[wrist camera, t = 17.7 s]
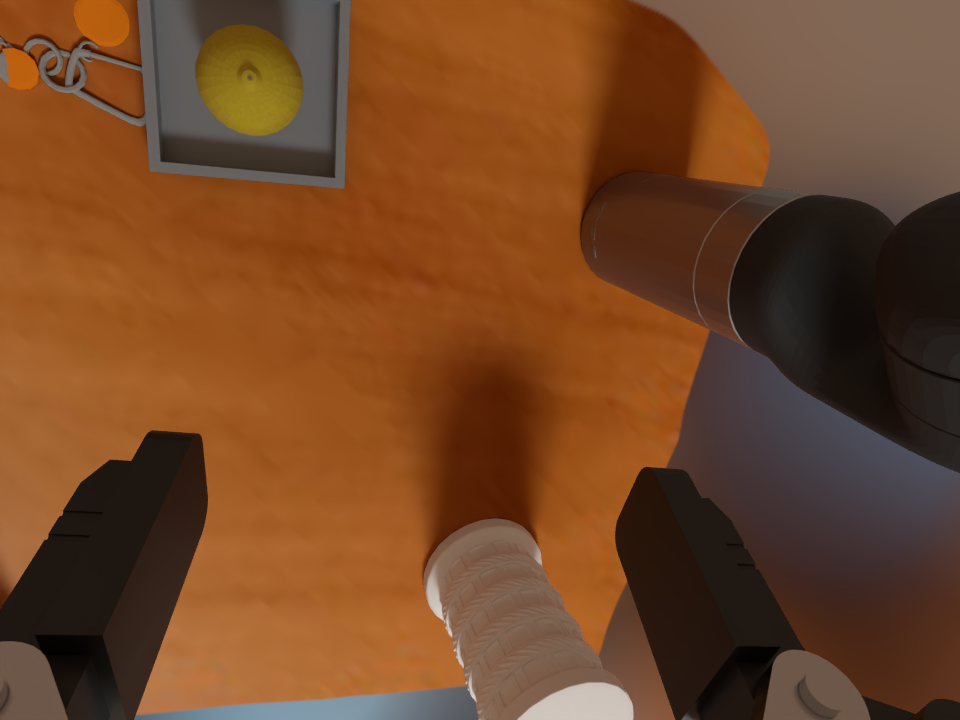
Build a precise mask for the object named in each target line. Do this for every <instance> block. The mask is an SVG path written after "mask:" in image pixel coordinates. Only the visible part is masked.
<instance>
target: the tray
mask: <svg viewBox="0 0 960 720" xmlns="http://www.w3.org/2000/svg"><path fill="white" fill-rule="evenodd" d="M137 5H138V19H139V32H140V46H141V60H142V73H143V87H144V101H145V114H146V128H147V142H148V155H149V169H150V171H151V172H162V173H173V174H185V175H196V176H207V177H219V178H230V179H241V180H252V181H264V182H275V183H286V184H298V185H309V186H320V187H331V188H343V189H344V182H345V153H346V124H347V94H348V65H349V36H350V7H351V0H137ZM238 24H245V25H251V26H257V27H259V28H261V29H264V30H266V31H269V32H270V33H272V34H273V35H274V36H276V37H277V38H278V39H280V40H281V41H282V42H283V43H284V44H285V45H286V46H287V47H288V49H289V50H290V51H291V52H292V54H293V56H294V57H295V59H296V61H297V63H298V65H299V68H300V71H301V75H302V78H303V97H302V103H301V106H300V108H299V110H298V113H297V115H296V116H295V118H294V119H293V120H292V121H291V122H290V123H289V124H288V125H287V126H286V127H284V128H283V129H281V130H280V131H278V132H276V133H272V134H269V135H264V136H251V135H247V134H242V133H239V132H237V131H234V130H232V129H230V128H228V127H226V126H225V125H224V124H223V123H221V122H220V121H219V120H218V119H216V118H215V117H214V115H213V114H212V113H211V112H210V111H209V109H208V108H207V107H206V106H205V104H204V102H203V100H202V98H201V96H200V94H199V91H198V87H197V83H196V79H195V64H196V60H197V56H198V53H199V50H200V49H201V47H202V45H203V44H204V42H205V40H206V39H207V38H208V37H210V36H211V35H212V34H213V33H214V32H215V31H217V30H219V29H222V28H224V27H226V26H229V25H238Z"/></svg>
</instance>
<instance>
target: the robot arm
mask: <svg viewBox="0 0 960 720" xmlns="http://www.w3.org/2000/svg"><path fill="white" fill-rule="evenodd" d="M581 243H582V251H583V254H584V257H585V260H586V262H587V263H588V265H589V267H590V268H591V270H592V271H593V272H594V273H595V274H596V275H597V276H598V277H600V278H602V279H603V280H605V281H607V282H609V283H611V284H613V285H615V286H617V287H620V288H622V289H624V290H626V291H628V292H630V293H632V294H634V295H636V296H638V297H641V298H643V299H645V300H647V301H649V302H651V303H653V304H656V305H658V306H660V307H662V308H664V309H666V310H669V311H671V312H673V313H675V314H677V315H679V316H682V317H684V318H686V319H688V320H690V321H692V322H694V323H697V324H699V325H701V326H703V327H705V328H707V329H710V330H712V331H714V332H716V333H719V334H721V335H723V336H725V337H727V338H730V339H732V340H734V341H736V342H738V343H740V344H742V345H744V346H747V347H749V348H751V349H753V350H755V351H757V352H759V353H761V354H763V355H765V356H767V357H768V358H769V359H770V360H771V361H772V362H773V363H774V364H775V365H776V366H777V368H778V369H779V370H780V371H781V372H782V373H783V374H784V375H785V376H786V377H787V378H788V379H789V380H790V381H791V382H792V383H793V384H795V385H796V386H797V387H799V388H800V389H802V390H803V391H805V392H806V393H808V394H810V395H811V396H813V397H815V398H816V399H818V400H820V401H822V402H824V403H825V404H827V405H829V406H831V407H832V408H834V409H836V410H838V411H839V412H841V413H843V414H845V415H846V416H848V417H850V418H852V419H854V420H855V421H857V422H859V423H861V424H862V425H864V426H866V427H868V428H869V429H871V430H873V431H875V432H876V433H878V434H880V435H882V436H884V437H886V438H887V439H889V440H891V441H893V442H894V443H896V444H898V445H901V446H902V447H904V448H906V449H907V450H909V451H912V452H913V453H916V454H918V455H920V456H922V457H924V458H926V459H928V460H930V461H932V462H934V463H936V464H939V465H941V466H944V467H946V468H948V469H951V470H953V471H956V472H959V473H960V192H957V193H954V194H950V195H947V196H945V197H942V198H939V199H937V200H935V201H932V202H930V203H928V204H926V205H924V206H922V207H920V208H918V209H917V210H915V211H913V212H912V213H911V214H909V215H908V216H907V217H905V218H904V219H903V220H901V222H899V223H898V224H897V225H896V226H895V225H894V224H893V223H892V221H891V220H890V219H889V218H888V217H887V216H886V215H884V214H883V213H882V212H881V211H880V210H878V209H876V208H875V207H873V206H871V205H869V204H867V203H864V202H861V201H857V200H853V199H848V198H841V197H833V196H826V195H819V194H811V193H804V192H796V191H789V190H781V189H771V188H763V187H756V186H748V185H741V184H733V183H726V182H718V181H710V180H703V179H695V178H688V177H680V176H674V175H666V174H658V173H649V172H641V171H635V172H627V173H625V174H622V175H619V176H617V177H615V178H614V179H612V180H610V181H609V182H607V183H606V184H605V185H604V186H603V187H602V188H601V189H600V190H599V191H598V192H597V193H596V195H595V196H594V198H593V199H592V201H591V202H590V204H589V206H588V208H587V211H586V213H585V216H584V220H583V223H582V230H581ZM207 506H208V493H207V482H206V472H205V462H204V451H203V442H202V437H201V435H200V434H195V433H182V432H168V431H154V430H152V431H150V432H148V434H147V435H146V436H145V438H144V439H143V441H142V443H141V445H140V447H139V448H138V450H137V452H136V454H135V456H134V457H133V459H132V461H123V460H109V461H108V462H106V463H105V464H104V465H103V466H101V467H100V468H99V469H98V470H96V471H95V472H94V473H92V474H91V475H90V476H89V477H87V478H86V479H85V480H83V481H82V482H81V483H80V485H79V486H78V488H77V489H76V491H75V493H74V494H73V496H72V497H71V499H70V501H69V502H68V504H67V505H66V507H65V508H64V510H63V515H62V516H59V518H58V520H57V521H56V523H55V524H54V526H53V527H52V529H51V531H50V532H49V536H48V539H47V540H44V542H43V543H42V545H41V546H40V548H39V550H38V551H37V553H36V554H35V556H34V558H33V559H32V561H31V562H30V564H29V565H28V567H27V569H26V570H25V572H24V573H23V575H22V577H21V578H20V580H19V581H18V583H17V584H16V586H15V588H14V589H13V591H12V592H11V594H10V596H9V597H8V599H7V600H6V602H5V603H4V605H3V607H2V608H1V610H0V720H134V718H135V715H136V712H137V710H138V707H139V704H140V701H141V699H142V696H143V693H144V691H145V688H146V685H147V682H148V680H149V677H150V674H151V671H152V669H153V666H154V663H155V660H156V658H157V655H158V652H159V649H160V647H161V644H162V641H163V638H164V636H165V633H166V630H167V628H168V625H169V622H170V619H171V617H172V614H173V611H174V608H175V606H176V603H177V600H178V597H179V595H180V592H181V589H182V586H183V584H184V581H185V578H186V576H187V573H188V570H189V567H190V565H191V562H192V559H193V556H194V554H195V551H196V548H197V545H198V543H199V540H200V537H201V534H202V531H203V528H204V524H205V520H206V514H207ZM615 541H616V548H617V552H618V555H619V558H620V561H621V564H622V567H623V570H624V572H625V575H626V578H627V581H628V584H629V587H630V590H631V592H632V596H633V598H634V601H635V604H636V607H637V610H638V613H639V616H640V619H641V622H642V624H643V627H644V630H645V633H646V636H647V639H648V642H649V645H650V647H651V650H652V653H653V656H654V659H655V662H656V665H657V667H658V671H659V673H660V676H661V679H662V682H663V685H664V688H665V691H666V693H667V697H668V699H669V702H670V705H671V708H672V711H673V714H674V717H675V719H676V720H960V703H958V702H955V701H952V700H947V699H936V700H933V701H931V702H929V703H928V704H927V705H926V706H925V707H923V708H922V709H921V710H920V711H919V712H917V713H916V714H913V713H911V712H908V711H905V710H902V709H899V708H896V707H893V706H890V705H887V704H884V703H882V702H879V701H875V700H872V699H869V698H867V697H864V696H861V695H860V693H859V692H858V690H857V689H856V687H855V686H854V685H853V684H852V683H851V681H850V680H849V679H848V678H847V677H846V676H845V675H844V674H843V673H842V672H841V671H840V670H838V669H837V668H836V667H835V666H833V665H832V664H831V663H829V662H828V661H826V660H825V659H823V658H821V657H819V656H817V655H815V654H812V653H810V652H806V651H805V650H804V648H803V646H802V645H801V643H800V641H799V640H798V638H797V636H796V634H795V633H794V631H793V629H792V627H791V626H790V624H789V622H788V620H787V618H786V617H785V615H784V613H783V611H782V610H781V608H780V606H779V604H778V603H777V601H776V599H775V597H774V596H773V594H772V592H771V590H770V589H769V587H768V585H767V584H766V581H765V580H764V578H763V576H762V574H761V573H760V571H759V570H757V569H756V568H755V565H756V564H755V562H754V560H753V559H752V557H751V555H750V553H749V552H748V550H747V549H744V543H743V541H742V539H741V537H740V536H739V534H738V532H737V531H736V529H735V527H734V525H733V523H732V522H731V520H730V519H729V518H728V517H727V516H726V515H725V514H724V513H723V512H722V511H721V510H720V509H719V508H718V507H717V506H716V505H715V504H714V503H713V502H712V501H711V500H710V499H709V498H701V496H700V494H699V493H698V491H697V489H696V487H695V485H694V483H693V481H692V480H691V478H690V476H689V475H688V473H687V472H685V471H684V470H681V469H667V468H653V467H645V468H643V469H642V470H641V471H640V472H639V474H638V476H637V478H636V480H635V483H634V485H633V487H632V489H631V491H630V494H629V496H628V498H627V500H626V502H625V504H624V507H623V509H622V511H621V513H620V515H619V518H618V520H617V524H616V531H615Z"/></svg>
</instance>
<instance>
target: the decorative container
mask: <svg viewBox="0 0 960 720" xmlns="http://www.w3.org/2000/svg"><path fill="white" fill-rule="evenodd" d="M423 586H424V591H425V595H426V598H427V601H428V604H429V606H430V608H431V609H432V611H433V612H434V613H435V615H436V616H437V617H439V618H440V619H442V620H443V622H444V623H445V624H446V626H445V628H446V629H447V630H448V633H449V634H450V635H451V637H452V641H453V645H454V649H453V650H454V652H456V658H458V661H459V663H460V664H461V665H462V667H463V670H464V677H465V680H466V681H465V683H466V684H467V686H468V688H467V690H468V691H470V694H471V696H472V697H473V698H474V700H475V701H476V706H477V712H478V716H479V718H478V720H633V704H632V702H631V700H630V698H629V696H628V694H627V692H626V691H625V689H624V687H623V686H622V684H621V683H620V681H619V680H618V679H617V678H616V677H615V676H614V675H613V674H611V673H610V672H609V671H606V670H603V668H602V665H601V661H600V659H599V656H598V655H597V653H596V652H595V650H594V649H593V648H592V647H591V646H590V645H589V644H587V643H586V642H585V641H584V640H583V635H582V632H581V629H580V627H579V624H578V623H577V621H576V620H575V619H574V618H573V616H572V615H570V614H569V613H568V612H567V611H566V609H565V606H564V602H563V600H562V597H561V595H560V594H559V593H558V591H557V590H556V589H555V588H554V587H553V586H551V585H550V582H549V580H548V576H547V574H546V571H545V570H544V569H543V567H542V559H541V552H540V550H539V548H538V546H537V544H536V542H535V540H534V539H533V537H532V535H531V534H530V533H529V532H528V531H527V530H526V529H525V528H524V527H523V526H522V525H520V524H517V523H515V522H513V521H511V520H505V519H498V518H494V519H485V520H479V521H476V522H473V523H470V524H467V525H465V526H463V527H462V528H460V529H458V530H456V531H455V532H453V533H451V534H450V535H449V536H448V537H447V538H446V539H445V540H443V541H442V542H441V543H440V544H439V545H438V546H437V548H436V549H435V551H434V552H433V554H432V555H431V556H430V558H429V560H428V563H427V565H426V568H425V570H424V579H423Z"/></svg>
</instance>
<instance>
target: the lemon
mask: <svg viewBox="0 0 960 720" xmlns="http://www.w3.org/2000/svg"><path fill="white" fill-rule="evenodd" d="M195 79H196V83H197V87H198V91H199V94H200V96H201V98H202V100H203V102H204V104H205V106H206V107H207V108H208V109H209V111H210V112H211V113H212V114H213V115H214V117H215V118H216V119H218V120H219V121H220V122H221V123H223V124H224V125H225V126H226V127H228V128H230V129H232V130H234V131H237V132H239V133H242V134H247V135H251V136H264V135H269V134H272V133H276V132H278V131H280V130H281V129H283V128H284V127H286V126H287V125H288V124H289V123H290V122H291V121H292V120H293V119H294V118H295V116H296V115H297V113H298V110H299V108H300V106H301V103H302V97H303V78H302V75H301V71H300V68H299V65H298V63H297V61H296V59H295V57H294V56H293V54H292V52H291V51H290V50H289V49H288V47H287V46H286V45H285V44H284V43H283V42H282V41H281V40H280V39H278V38H277V37H276V36H274V35H273V34H272V33H270V32H269V31H266V30H264V29H261V28H259V27H257V26H251V25H245V24H238V25H229V26H226V27H224V28H222V29H219V30H217V31H215V32H214V33H213V34H212V35H211V36H210V37H208V38H207V39H206V40H205V42H204V44H203V45H202V47H201V49H200V50H199V53H198V56H197V60H196V64H195Z"/></svg>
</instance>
